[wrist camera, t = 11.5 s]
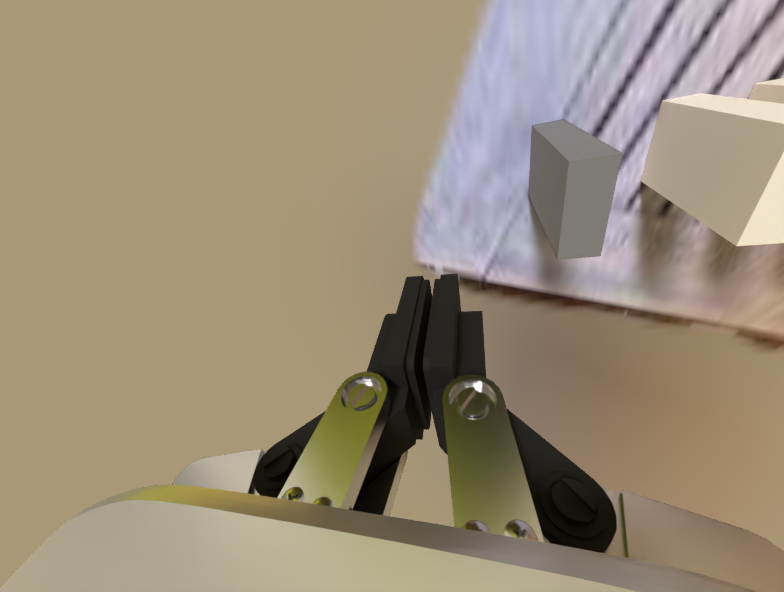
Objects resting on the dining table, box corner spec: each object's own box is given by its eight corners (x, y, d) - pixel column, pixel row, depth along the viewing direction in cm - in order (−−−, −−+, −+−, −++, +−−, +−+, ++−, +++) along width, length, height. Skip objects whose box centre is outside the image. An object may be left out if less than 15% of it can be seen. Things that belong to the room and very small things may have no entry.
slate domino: (528, 195, 24) (557, 259, 16) (532, 125, 21) (569, 161, 13) (556, 192, 23) (600, 256, 16) (563, 119, 20) (622, 152, 13)
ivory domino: (701, 93, 18) (871, 115, 11) (674, 176, 21) (793, 242, 13) (662, 100, 19) (796, 126, 11) (640, 181, 22) (736, 246, 14)
